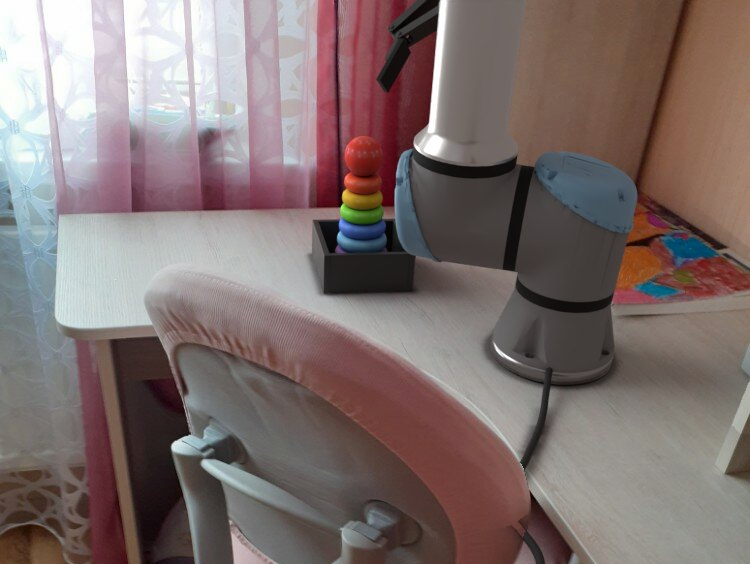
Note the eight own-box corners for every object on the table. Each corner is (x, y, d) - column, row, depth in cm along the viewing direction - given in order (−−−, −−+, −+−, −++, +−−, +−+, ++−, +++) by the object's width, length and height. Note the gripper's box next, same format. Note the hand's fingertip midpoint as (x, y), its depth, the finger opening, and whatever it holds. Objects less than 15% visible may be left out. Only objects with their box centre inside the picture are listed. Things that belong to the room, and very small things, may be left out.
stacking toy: (390, 264, 125) (399, 131, 113) (385, 287, 119) (395, 149, 107) (337, 259, 125) (341, 126, 113) (329, 282, 119) (333, 144, 107)
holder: (412, 291, 118) (416, 253, 115) (323, 293, 116) (324, 255, 113) (394, 254, 128) (397, 218, 124) (311, 255, 126) (312, 219, 122)
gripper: (585, -5, 112) (504, 136, 112) (435, -33, 123) (363, 94, 124) (573, -50, 105) (487, 100, 105) (416, -75, 117) (339, 59, 117)
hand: (420, 97), depth 115 cm, fingers open, 13 cm apart
